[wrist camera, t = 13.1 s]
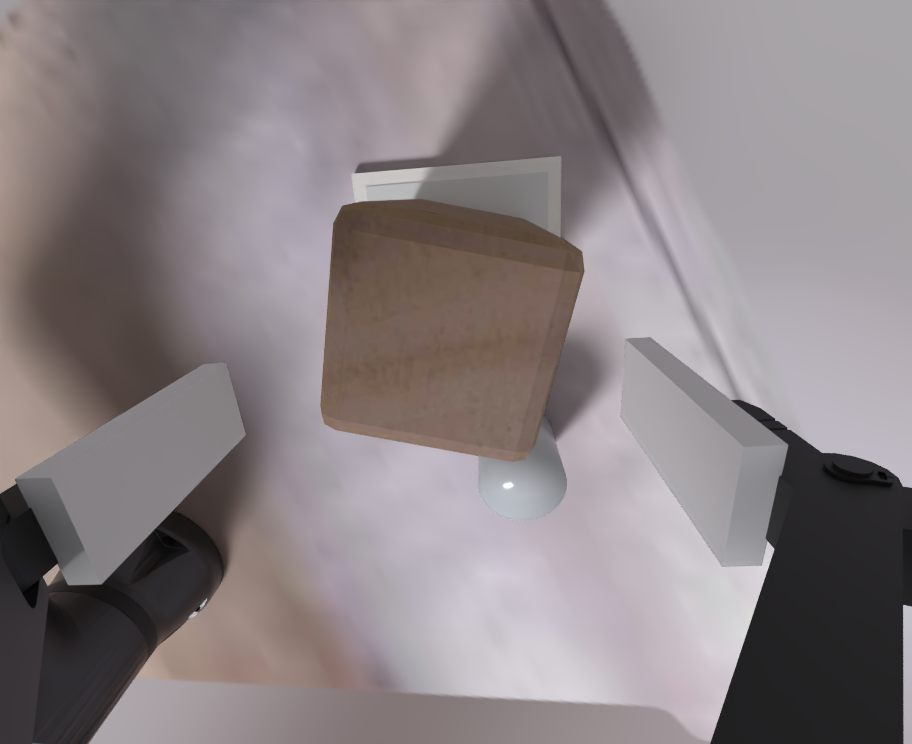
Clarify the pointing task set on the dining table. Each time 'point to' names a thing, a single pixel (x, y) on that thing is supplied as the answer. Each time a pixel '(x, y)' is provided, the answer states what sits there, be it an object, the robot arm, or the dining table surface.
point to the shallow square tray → (476, 188)
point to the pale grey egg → (525, 480)
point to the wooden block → (445, 325)
